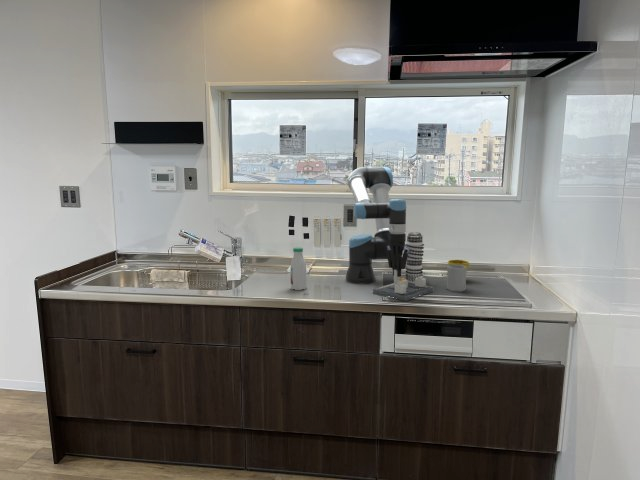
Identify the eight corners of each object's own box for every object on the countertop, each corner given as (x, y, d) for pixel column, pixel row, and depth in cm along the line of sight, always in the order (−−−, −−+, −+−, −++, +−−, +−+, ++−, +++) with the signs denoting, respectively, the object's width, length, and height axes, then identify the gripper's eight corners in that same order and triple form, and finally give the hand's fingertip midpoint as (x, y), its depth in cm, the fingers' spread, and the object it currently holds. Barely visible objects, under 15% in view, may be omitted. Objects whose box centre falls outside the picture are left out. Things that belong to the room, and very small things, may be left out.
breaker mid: (396, 287, 206) (396, 278, 206) (400, 285, 208) (400, 277, 208) (403, 288, 204) (404, 279, 203) (407, 287, 206) (407, 278, 205)
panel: (373, 293, 205) (373, 288, 204) (400, 284, 220) (401, 280, 219) (405, 301, 192) (405, 295, 192) (433, 291, 207) (433, 286, 207)
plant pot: (466, 283, 220) (466, 264, 219) (445, 281, 225) (445, 262, 224) (470, 279, 229) (471, 260, 228) (450, 277, 234) (450, 258, 233)
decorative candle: (423, 283, 221) (424, 234, 217) (404, 283, 222) (405, 233, 219) (423, 279, 230) (424, 231, 226) (404, 279, 231) (405, 231, 228)
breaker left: (394, 292, 198) (394, 282, 197) (398, 291, 200) (398, 281, 199) (402, 293, 195) (402, 284, 194) (406, 292, 197) (406, 283, 196)
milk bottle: (309, 287, 217) (308, 247, 214) (302, 291, 210) (301, 249, 207) (295, 286, 220) (294, 246, 217) (288, 289, 213) (287, 248, 211)
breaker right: (414, 285, 209) (415, 276, 208) (418, 284, 211) (418, 275, 210) (422, 287, 206) (422, 278, 205) (425, 285, 208) (426, 276, 207)
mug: (466, 291, 205) (467, 268, 204) (447, 291, 207) (448, 268, 205) (463, 285, 217) (464, 263, 215) (445, 284, 219) (446, 262, 217)
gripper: (381, 232, 206) (380, 282, 209) (404, 234, 197) (403, 286, 200) (390, 231, 211) (390, 279, 215) (414, 233, 202) (413, 284, 205)
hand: (396, 283), depth 207 cm, fingers closed
